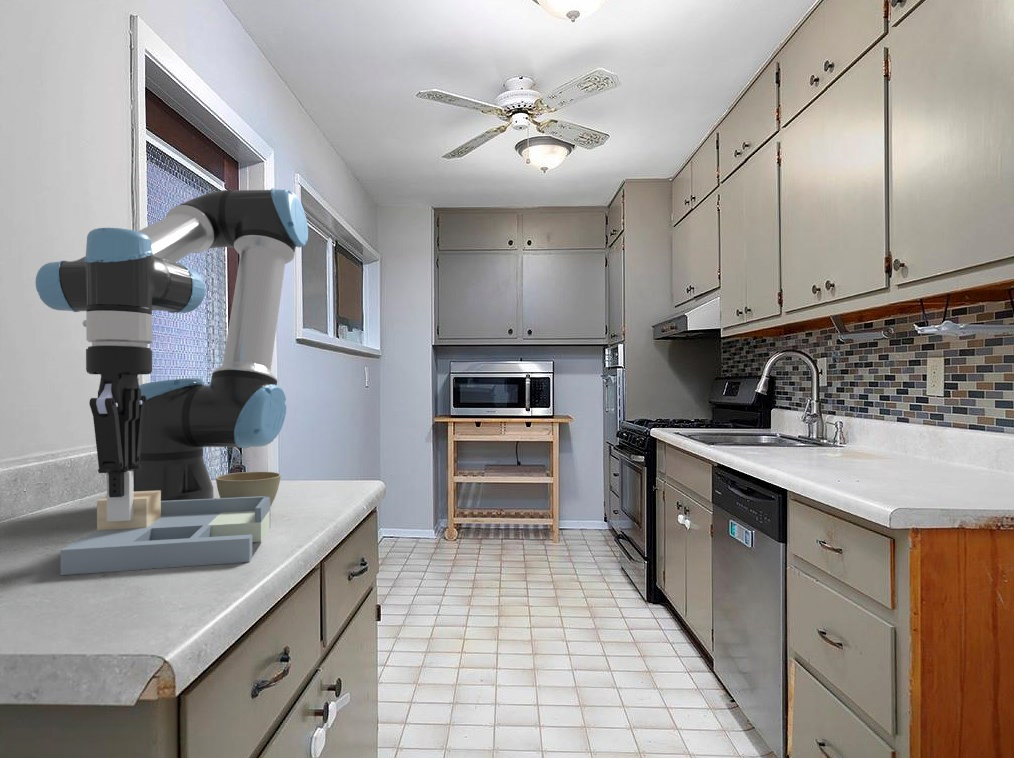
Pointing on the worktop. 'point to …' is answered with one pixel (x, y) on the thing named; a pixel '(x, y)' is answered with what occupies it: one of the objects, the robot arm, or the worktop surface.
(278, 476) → the tan bowl
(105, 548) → the tray
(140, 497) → the block
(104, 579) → the worktop surface
